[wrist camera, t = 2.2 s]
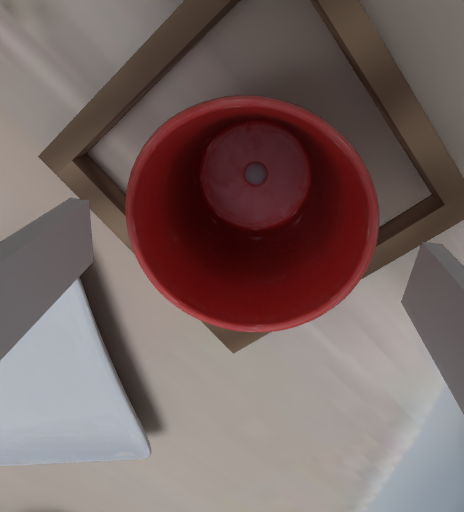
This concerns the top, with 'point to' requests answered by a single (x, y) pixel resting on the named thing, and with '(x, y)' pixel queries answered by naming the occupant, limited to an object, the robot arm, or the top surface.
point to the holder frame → (364, 64)
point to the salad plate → (65, 393)
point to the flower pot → (251, 213)
